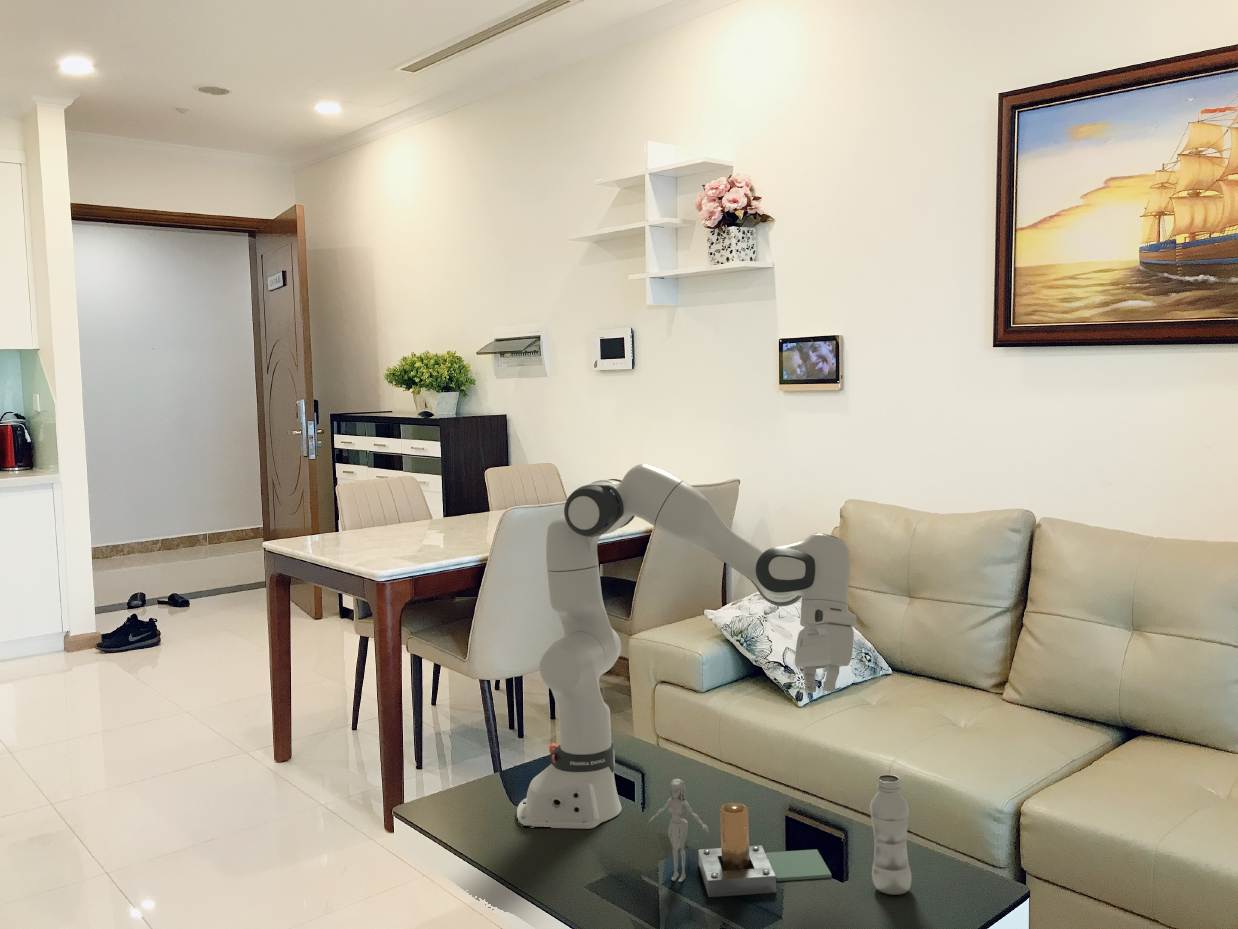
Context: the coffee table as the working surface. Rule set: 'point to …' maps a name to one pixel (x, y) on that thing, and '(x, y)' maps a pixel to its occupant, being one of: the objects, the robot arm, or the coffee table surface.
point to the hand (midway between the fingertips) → (819, 692)
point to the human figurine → (678, 823)
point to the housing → (736, 874)
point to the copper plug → (734, 837)
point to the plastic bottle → (890, 837)
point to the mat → (798, 865)
